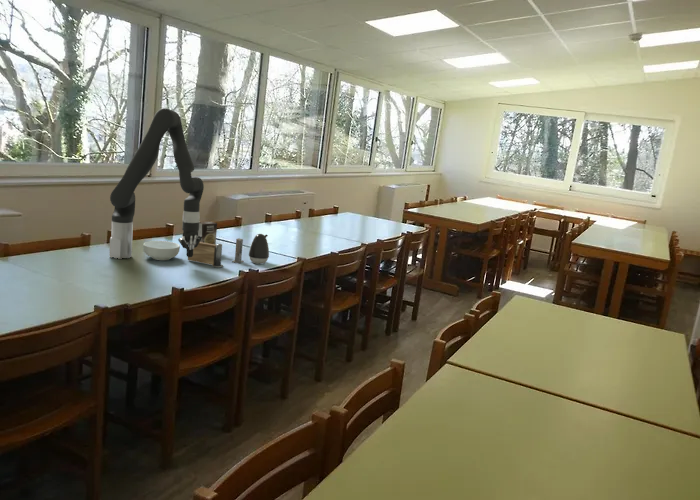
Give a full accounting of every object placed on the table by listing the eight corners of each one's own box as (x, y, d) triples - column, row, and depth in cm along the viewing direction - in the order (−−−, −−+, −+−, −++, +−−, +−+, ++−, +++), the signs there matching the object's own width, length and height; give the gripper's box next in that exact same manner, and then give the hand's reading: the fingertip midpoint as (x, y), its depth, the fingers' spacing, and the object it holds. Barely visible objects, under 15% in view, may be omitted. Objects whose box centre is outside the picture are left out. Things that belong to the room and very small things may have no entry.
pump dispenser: (272, 263, 278) (275, 234, 275) (259, 266, 269) (261, 236, 266) (257, 259, 283) (259, 230, 280) (244, 262, 274) (246, 232, 271)
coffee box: (201, 254, 278) (203, 224, 275) (193, 251, 282) (195, 221, 279) (215, 252, 286) (217, 223, 282) (208, 250, 289) (209, 220, 286)
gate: (213, 265, 260) (214, 245, 258) (187, 260, 263) (188, 240, 261) (215, 264, 262) (217, 245, 259) (189, 259, 265) (190, 240, 263)
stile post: (239, 263, 270) (241, 240, 267) (231, 262, 271) (233, 238, 269) (243, 262, 274) (245, 239, 272) (236, 260, 275) (237, 237, 273)
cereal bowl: (167, 264, 253) (168, 250, 251) (135, 259, 256) (136, 244, 254) (185, 257, 269) (186, 243, 268) (155, 252, 272) (156, 238, 271)
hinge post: (219, 268, 257) (221, 246, 255) (210, 266, 258) (211, 244, 256) (224, 266, 262) (226, 244, 260) (215, 264, 263) (217, 242, 261)
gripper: (195, 218, 256) (194, 253, 260) (174, 220, 245) (173, 257, 249) (207, 220, 253) (205, 256, 256) (185, 223, 241) (184, 260, 245)
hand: (189, 256), depth 253 cm, fingers closed
